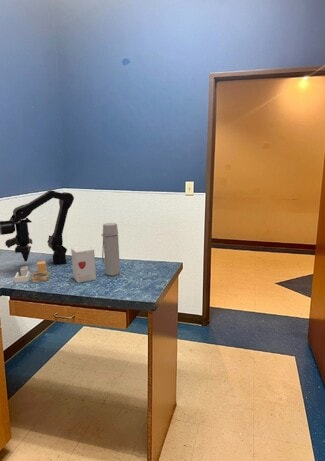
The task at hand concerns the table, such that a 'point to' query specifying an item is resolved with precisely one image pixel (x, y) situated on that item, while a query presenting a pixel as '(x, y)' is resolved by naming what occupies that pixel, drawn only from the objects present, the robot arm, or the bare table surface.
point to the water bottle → (111, 249)
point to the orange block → (41, 266)
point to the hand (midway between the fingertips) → (25, 261)
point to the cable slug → (24, 270)
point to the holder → (40, 277)
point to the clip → (22, 277)
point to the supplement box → (83, 263)
